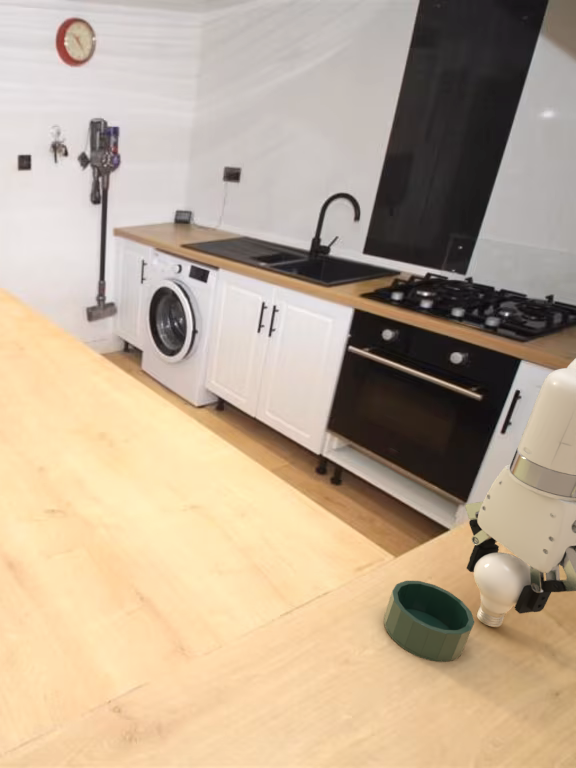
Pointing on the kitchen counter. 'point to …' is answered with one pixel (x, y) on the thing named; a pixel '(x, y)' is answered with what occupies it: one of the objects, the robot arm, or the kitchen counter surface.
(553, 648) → the kitchen counter surface
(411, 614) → the bowl
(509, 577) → the lightbulb
